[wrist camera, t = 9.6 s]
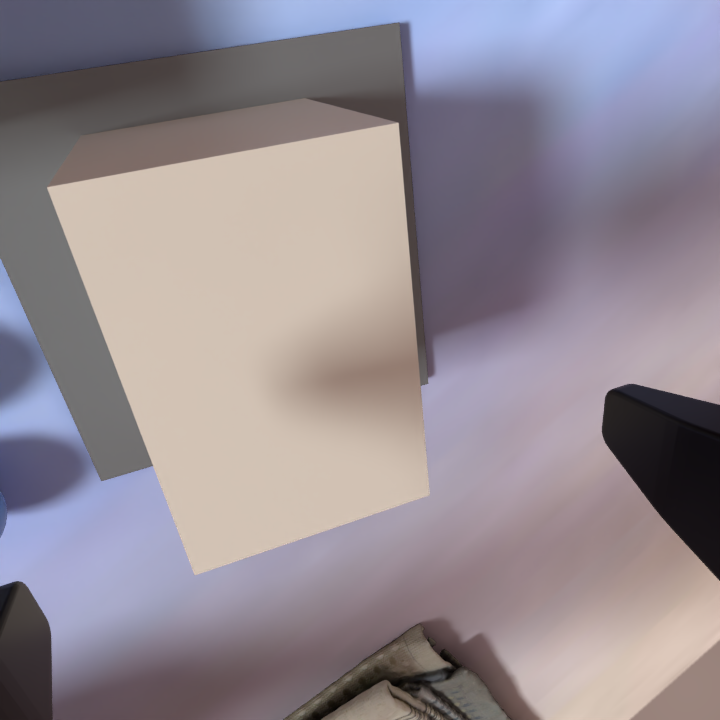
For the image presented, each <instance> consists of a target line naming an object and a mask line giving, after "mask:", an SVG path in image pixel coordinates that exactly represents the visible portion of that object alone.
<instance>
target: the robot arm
mask: <svg viewBox="0 0 720 720" xmlns="http://www.w3.org/2000/svg"><path fill="white" fill-rule="evenodd" d="M602 434H603V438H604V441H605V443H606V444H607V446H608V447H609V449H610V450H611V451H612V453H613V454H614V455H615V457H616V458H617V459H618V461H619V462H620V463H621V465H622V466H623V467H624V469H625V470H626V471H627V473H628V474H629V475H630V477H631V478H632V479H633V481H634V482H635V483H636V484H637V486H638V487H639V488H640V490H641V491H642V492H643V494H644V495H645V496H646V498H647V499H648V500H649V502H650V503H651V504H652V506H653V507H654V508H655V509H656V511H657V512H658V513H659V514H660V516H661V517H662V518H663V519H664V520H665V521H666V523H667V524H668V525H669V526H670V527H671V528H672V529H673V531H674V532H675V533H676V534H677V535H678V536H679V537H680V538H681V539H682V540H683V541H684V542H685V544H686V545H687V546H688V547H689V548H690V549H691V550H692V551H693V552H694V553H695V554H696V556H697V557H698V558H699V559H700V560H701V561H702V562H703V563H704V564H705V565H706V566H707V567H708V569H709V570H710V571H711V572H712V573H713V574H714V575H715V576H716V577H717V578H718V579H719V581H720V405H718V404H714V403H710V402H706V401H701V400H697V399H693V398H689V397H685V396H681V395H677V394H673V393H669V392H665V391H661V390H657V389H652V388H648V387H644V386H640V385H636V384H627V385H624V386H621V387H617V388H614V389H612V390H610V391H609V392H608V393H607V395H606V397H605V404H604V414H603V423H602ZM0 720H52V656H51V631H50V627H49V623H48V620H47V619H46V617H45V615H44V613H43V612H42V610H41V608H40V607H39V605H38V604H37V602H36V600H35V599H34V597H33V595H32V594H31V592H30V590H29V589H28V587H27V586H26V585H25V584H24V583H23V582H19V581H16V582H12V583H9V584H6V585H3V586H0Z"/></svg>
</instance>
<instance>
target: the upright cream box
mask: <svg viewBox="0 0 720 720" xmlns="http://www.w3.org/2000/svg"><path fill="white" fill-rule="evenodd" d="M47 189H48V192H49V194H50V197H51V199H52V202H53V205H54V207H55V210H56V213H57V215H58V218H59V220H60V223H61V226H62V228H63V231H64V234H65V236H66V239H67V241H68V244H69V247H70V249H71V252H72V254H73V257H74V260H75V262H76V265H77V268H78V270H79V273H80V275H81V278H82V281H83V283H84V286H85V289H86V291H87V294H88V296H89V299H90V302H91V304H92V307H93V310H94V312H95V315H96V317H97V320H98V323H99V325H100V328H101V330H102V333H103V336H104V338H105V341H106V344H107V346H108V349H109V351H110V354H111V357H112V359H113V362H114V365H115V367H116V370H117V372H118V375H119V378H120V380H121V383H122V386H123V388H124V391H125V393H126V396H127V399H128V401H129V404H130V407H131V409H132V412H133V414H134V417H135V420H136V422H137V425H138V427H139V430H140V433H141V435H142V438H143V441H144V443H145V446H146V448H147V451H148V454H149V456H150V459H151V462H152V464H153V467H154V469H155V472H156V475H157V477H158V480H159V483H160V485H161V488H162V490H163V493H164V496H165V498H166V501H167V503H168V506H169V509H170V511H171V514H172V517H173V519H174V522H175V524H176V527H177V530H178V532H179V535H180V538H181V540H182V543H183V545H184V548H185V551H186V553H187V556H188V559H189V561H190V564H191V566H192V569H193V572H194V574H195V575H197V574H200V573H203V572H206V571H209V570H212V569H215V568H218V567H221V566H224V565H227V564H230V563H233V562H236V561H238V560H241V559H244V558H247V557H250V556H253V555H256V554H259V553H262V552H265V551H268V550H271V549H274V548H276V547H279V546H282V545H285V544H288V543H291V542H294V541H297V540H300V539H303V538H306V537H309V536H312V535H315V534H317V533H320V532H323V531H326V530H329V529H332V528H335V527H338V526H341V525H344V524H347V523H350V522H353V521H356V520H358V519H361V518H364V517H367V516H370V515H373V514H376V513H379V512H382V511H385V510H388V509H391V508H394V507H397V506H399V505H402V504H405V503H408V502H411V501H414V500H417V499H420V498H423V497H426V496H429V495H430V494H429V482H428V470H427V458H426V446H425V434H424V422H423V410H422V398H421V386H420V374H419V362H418V350H417V338H416V326H415V314H414V302H413V290H412V278H411V266H410V254H409V242H408V230H407V218H406V206H405V194H404V182H403V170H402V158H401V146H400V134H399V123H398V122H394V121H390V120H386V119H383V118H379V117H375V116H371V115H367V114H363V113H360V112H356V111H352V110H348V109H344V108H340V107H337V106H333V105H329V104H325V103H321V102H317V101H314V100H310V99H306V98H303V99H297V100H291V101H285V102H279V103H273V104H267V105H261V106H255V107H249V108H243V109H237V110H231V111H225V112H219V113H213V114H207V115H201V116H195V117H189V118H183V119H177V120H171V121H165V122H159V123H153V124H147V125H141V126H135V127H129V128H123V129H117V130H111V131H105V132H99V133H93V134H87V135H81V136H80V138H79V139H78V141H77V142H76V144H75V145H74V147H73V148H72V150H71V151H70V153H69V155H68V156H67V158H66V159H65V161H64V162H63V164H62V165H61V167H60V168H59V170H58V171H57V173H56V174H55V176H54V177H53V179H52V180H51V182H50V183H49V185H48V186H47Z"/></svg>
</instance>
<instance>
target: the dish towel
mask: <svg viewBox="0 0 720 720" xmlns="http://www.w3.org/2000/svg"><path fill="white" fill-rule="evenodd" d="M423 630H424V627H423V626H422V625H421V624H418V625H416V626H414V627H413V628H411V629H410V630H408V631H407V632H405V633H404V634H403V635H401V636H400V637H399V638H397V639H396V640H395V641H393V642H392V643H390V644H388V645H386V646H385V647H384V648H382V649H381V650H379V651H377V652H376V653H374V654H373V655H371V656H370V657H369V658H367V659H365V660H364V661H362V662H361V663H360V664H358V665H357V666H356V667H355V668H353V669H352V670H350V671H349V672H347V673H346V674H345V675H343V676H342V677H341V678H340V679H338V680H337V681H335V682H334V683H332V684H331V685H330V686H329V687H327V688H326V689H324V690H323V691H322V692H320V693H319V694H317V695H316V696H315V697H313V698H312V699H311V700H310V701H308V702H307V703H306V704H304V705H303V706H301V707H300V708H298V709H297V710H296V711H294V712H293V713H292V714H290V715H289V716H288V717H286V718H285V719H283V720H511V719H510V718H509V717H508V716H507V715H506V713H505V712H504V710H503V709H502V708H501V707H500V706H499V704H498V702H497V701H496V700H495V699H494V698H493V696H492V695H491V693H490V692H489V690H488V688H487V686H486V685H485V684H484V683H483V682H482V680H481V679H480V678H479V677H478V675H477V674H475V673H474V672H472V671H470V670H469V669H468V668H466V667H463V666H462V665H461V664H460V663H459V662H458V660H457V659H455V658H454V657H453V656H452V655H451V654H450V653H449V652H448V651H446V650H445V649H443V650H442V651H441V653H440V656H439V655H438V653H436V652H435V651H434V650H433V649H432V647H433V646H434V645H435V644H436V642H435V641H434V640H433V639H432V638H430V637H429V638H428V639H426V638H425V636H424V634H423V632H422V631H423Z"/></svg>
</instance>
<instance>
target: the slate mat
mask: <svg viewBox="0 0 720 720" xmlns="http://www.w3.org/2000/svg"><path fill="white" fill-rule="evenodd" d="M303 98H306V99H310V100H314V101H317V102H321V103H325V104H329V105H333V106H337V107H340V108H344V109H348V110H352V111H356V112H360V113H363V114H367V115H371V116H375V117H379V118H383V119H386V120H390V121H394V122H398V123H399V134H400V146H401V158H402V170H403V182H404V194H405V206H406V218H407V230H408V242H409V254H410V266H411V278H412V290H413V302H414V314H415V326H416V338H417V350H418V362H419V374H420V386H422V385H425V384H428V374H427V361H426V349H425V336H424V324H423V312H422V299H421V287H420V274H419V262H418V249H417V237H416V224H415V212H414V199H413V187H412V174H411V162H410V149H409V137H408V124H407V112H406V99H405V87H404V75H403V62H402V50H401V37H400V25H399V23H393V24H386V25H379V26H373V27H366V28H359V29H352V30H346V31H339V32H332V33H325V34H319V35H312V36H305V37H298V38H292V39H285V40H278V41H271V42H265V43H258V44H251V45H244V46H238V47H231V48H224V49H217V50H210V51H204V52H197V53H190V54H183V55H177V56H170V57H163V58H156V59H150V60H143V61H136V62H129V63H123V64H116V65H109V66H102V67H96V68H89V69H82V70H75V71H69V72H62V73H55V74H48V75H42V76H35V77H28V78H21V79H15V80H8V81H1V82H0V258H1V260H2V262H3V265H4V267H5V269H6V271H7V273H8V276H9V278H10V280H11V282H12V285H13V287H14V289H15V291H16V293H17V296H18V298H19V300H20V302H21V304H22V307H23V309H24V311H25V313H26V316H27V318H28V320H29V322H30V324H31V327H32V329H33V331H34V333H35V335H36V338H37V340H38V342H39V344H40V347H41V349H42V351H43V353H44V355H45V358H46V360H47V362H48V364H49V366H50V369H51V371H52V373H53V375H54V378H55V380H56V382H57V384H58V386H59V389H60V391H61V393H62V395H63V397H64V400H65V402H66V404H67V406H68V408H69V411H70V413H71V415H72V417H73V420H74V422H75V424H76V426H77V428H78V431H79V433H80V435H81V437H82V439H83V442H84V444H85V446H86V448H87V451H88V453H89V455H90V457H91V459H92V462H93V464H94V466H95V468H96V470H97V473H98V475H99V477H100V479H101V481H104V480H107V479H110V478H114V477H117V476H121V475H124V474H127V473H131V472H134V471H137V470H141V469H144V468H147V467H151V466H153V464H152V462H151V459H150V456H149V454H148V451H147V448H146V446H145V443H144V441H143V438H142V435H141V433H140V430H139V427H138V425H137V422H136V420H135V417H134V414H133V412H132V409H131V407H130V404H129V401H128V399H127V396H126V393H125V391H124V388H123V386H122V383H121V380H120V378H119V375H118V372H117V370H116V367H115V365H114V362H113V359H112V357H111V354H110V351H109V349H108V346H107V344H106V341H105V338H104V336H103V333H102V330H101V328H100V325H99V323H98V320H97V317H96V315H95V312H94V310H93V307H92V304H91V302H90V299H89V296H88V294H87V291H86V289H85V286H84V283H83V281H82V278H81V275H80V273H79V270H78V268H77V265H76V262H75V260H74V257H73V254H72V252H71V249H70V247H69V244H68V241H67V239H66V236H65V234H64V231H63V228H62V226H61V223H60V220H59V218H58V215H57V213H56V210H55V207H54V205H53V202H52V199H51V197H50V194H49V192H48V189H47V186H48V185H49V183H50V182H51V180H52V179H53V177H54V176H55V174H56V173H57V171H58V170H59V168H60V167H61V165H62V164H63V162H64V161H65V159H66V158H67V156H68V155H69V153H70V151H71V150H72V148H73V147H74V145H75V144H76V142H77V141H78V139H79V138H80V136H81V135H87V134H93V133H99V132H105V131H111V130H117V129H123V128H129V127H135V126H141V125H147V124H153V123H159V122H165V121H171V120H177V119H183V118H189V117H195V116H201V115H207V114H213V113H219V112H225V111H231V110H237V109H243V108H249V107H255V106H261V105H267V104H273V103H279V102H285V101H291V100H297V99H303Z"/></svg>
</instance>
